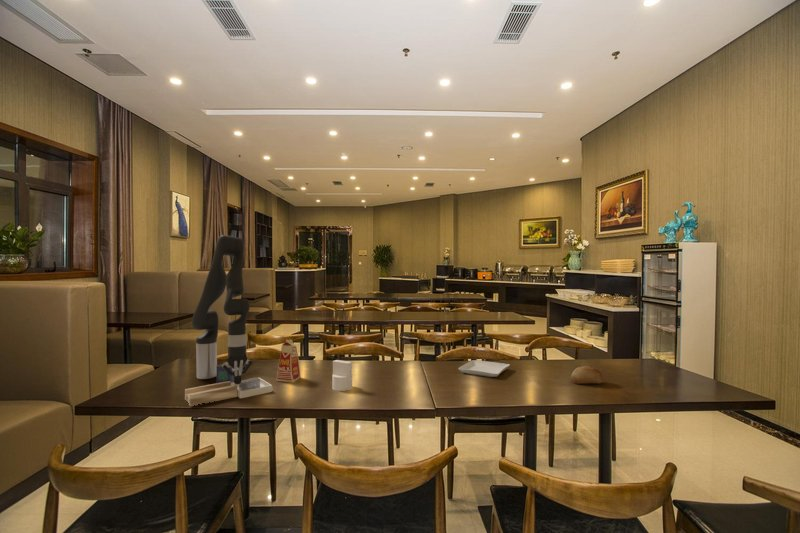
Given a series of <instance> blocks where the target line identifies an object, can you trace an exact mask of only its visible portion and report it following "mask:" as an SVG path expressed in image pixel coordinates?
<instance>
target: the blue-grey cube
mask: <svg viewBox="0 0 800 533" xmlns="http://www.w3.org/2000/svg"><path fill="white" fill-rule="evenodd" d="M259 378H260V377H250V378H248V379H249V380H250V381H251V389H255V388H260V379H259Z"/></svg>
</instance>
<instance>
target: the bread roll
mask: <svg viewBox="0 0 800 533" xmlns="http://www.w3.org/2000/svg"><path fill="white" fill-rule="evenodd" d="M604 380H605V379H604V375H603V373H602V372H601V370H599V369H598V368H596V367H594V366H590V365H589V366H588V365H582V366H579V367H576V368H575V369H574V370H573V371H572V373H571V375H570V381H571V382H572V383H573V384H578V385H581V384H582V385H583V384H602V383H603V382H604Z"/></svg>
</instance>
